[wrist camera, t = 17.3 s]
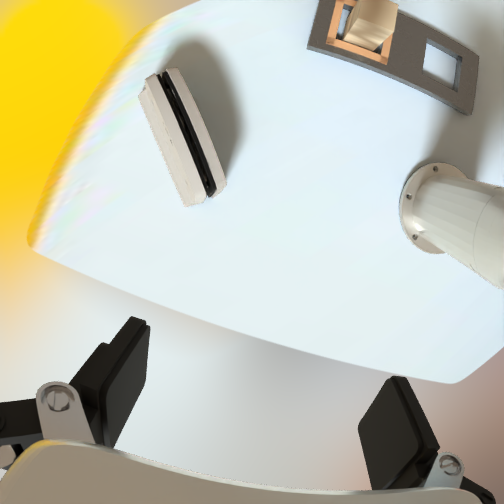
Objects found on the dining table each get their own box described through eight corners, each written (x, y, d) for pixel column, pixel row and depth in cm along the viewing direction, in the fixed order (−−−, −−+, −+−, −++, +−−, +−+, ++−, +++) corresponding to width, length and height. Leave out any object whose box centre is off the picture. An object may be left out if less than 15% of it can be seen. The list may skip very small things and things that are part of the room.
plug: (374, 30, 31) (398, 4, 23) (369, 54, 33) (393, 31, 24) (346, 20, 31) (363, -10, 23) (340, 43, 32) (358, 17, 24)
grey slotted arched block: (137, 96, 36) (130, 67, 26) (171, 83, 37) (173, 51, 27) (185, 209, 40) (191, 213, 31) (219, 194, 41) (235, 193, 31)
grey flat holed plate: (473, 58, 30) (479, 56, 29) (466, 115, 33) (472, 114, 32) (322, -10, 30) (323, -15, 28) (306, 49, 33) (308, 44, 31)
